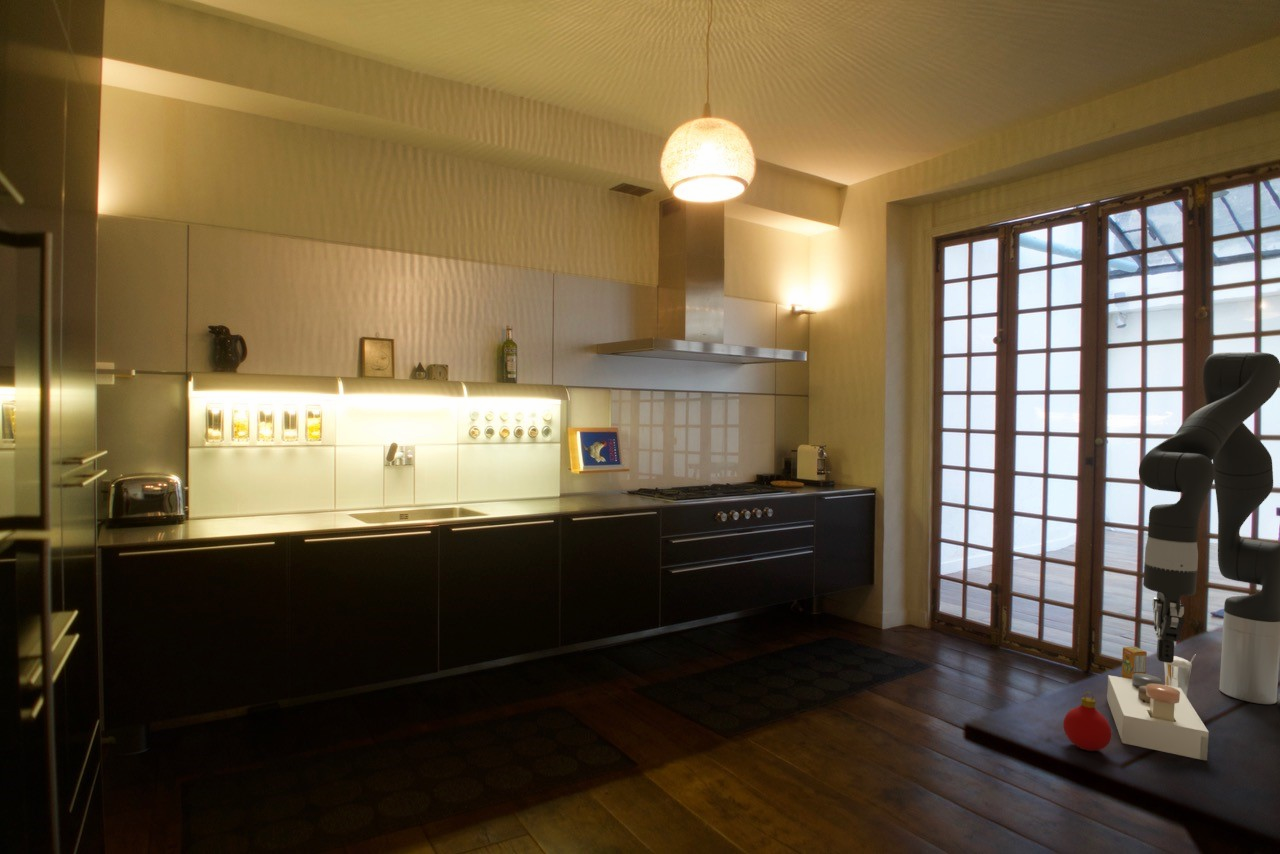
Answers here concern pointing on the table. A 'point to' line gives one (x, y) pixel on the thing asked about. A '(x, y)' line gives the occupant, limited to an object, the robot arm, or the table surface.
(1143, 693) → the walnut knob
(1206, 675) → the table surface
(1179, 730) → the knob console
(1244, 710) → the table surface
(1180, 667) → the milkshake
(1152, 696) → the terracotta knob
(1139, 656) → the supplement box
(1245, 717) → the table surface
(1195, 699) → the table surface
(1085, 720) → the christmas ornament
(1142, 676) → the charcoal knob
